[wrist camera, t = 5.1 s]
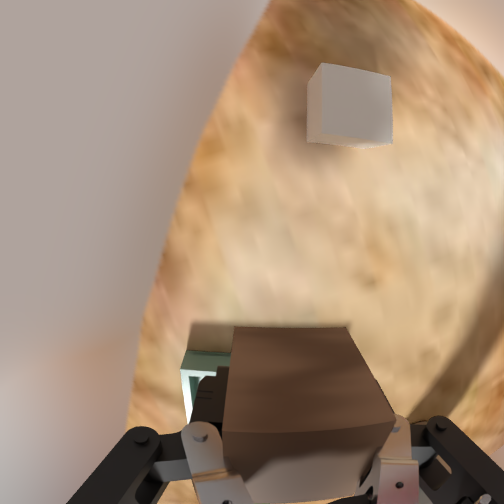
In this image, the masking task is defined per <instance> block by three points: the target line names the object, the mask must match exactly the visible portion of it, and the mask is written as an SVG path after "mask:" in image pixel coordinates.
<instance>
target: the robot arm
mask: <svg viewBox="0 0 504 504" xmlns="http://www.w3.org/2000/svg"><path fill="white" fill-rule="evenodd" d="M229 367H230V366H217V372H216V376H207V375H205V377H204V378H203V379H202V380H201V381H200V382H199V385H198V389H197V393H196V398H195V401H194V405H193V409H192V413H191V417H190V421H189V424H188V425H186V426H185V427H184V428H183V429H182V431H180V432H177V433H173V434H164V435H159V434H158V433H157V432H156V431H155V430H153V429H152V428H149V427H144V426H139V427H134V428H132V429H130V430H128V431H127V432H126V433H125V435H124V436H123V437H122V438H121V439H120V441H119V442H118V443H117V444H116V445H115V447H114V448H113V449H112V450H111V451H110V453H109V454H108V455H107V456H106V457H105V459H104V460H103V461H102V462H101V463H100V465H99V466H98V467H97V468H96V469H95V471H94V472H93V473H92V474H91V475H90V476H89V478H88V479H87V480H86V481H85V482H84V483H83V485H82V486H81V487H80V488H79V489H78V490H77V492H76V493H75V494H74V495H73V496H72V498H71V499H70V500H69V501H68V502H67V503H66V504H157V502H158V500H159V499H160V497H161V496H162V494H163V492H164V491H165V489H166V487H167V485H168V484H169V482H170V481H178V480H186V479H191V480H192V483H193V487H194V490H195V493H196V496H197V499H198V502H199V504H254V502H253V500H252V498H251V496H250V494H249V492H248V490H247V488H246V486H245V484H244V482H243V480H242V477H241V475H240V473H239V472H238V470H237V469H234V468H233V466H232V464H231V461H230V459H229V457H227V456H223V444H222V425H223V417H224V408H225V400H226V392H227V383H228V375H229ZM375 380H376V379H375ZM376 382H377V380H376ZM377 384H378V385H379V383H378V382H377ZM379 387H380V385H379ZM380 389H381V387H380ZM381 391H382V389H381ZM382 393H383V391H382ZM383 395H384V393H383ZM384 397H385V398H386V396H385V395H384ZM386 400H387V398H386ZM387 402H388V400H387ZM388 404H389V402H388ZM389 406H390V408H391V410H392V411H393V409H392V407H391V405H390V404H389ZM393 413H394V411H393ZM394 415H395V417H396V419H397V421H396V423H395V425H394V427H393V429H392V431H391V433H390V435H389V437H388V438H387V440H386V442H385V444H384V446H380V447H377V449H376V451H375V453H374V455H373V464H372V466H371V468H370V470H369V471H368V473H367V474H366V476H361V477H360V478H359V480H358V481H357V486H356V491H355V494H354V496H353V497H347V498H341V499H339V500H336V501H333V502H330V503H328V504H504V471H503V470H502V469H501V468H500V467H499V466H498V465H497V464H496V463H495V462H494V461H493V460H492V459H491V458H490V457H489V456H488V455H487V454H486V453H484V452H483V451H482V450H481V449H480V448H479V447H478V446H477V445H476V444H475V443H474V442H473V441H472V440H471V439H470V438H469V437H468V436H467V435H466V434H465V433H464V432H462V431H461V430H460V429H459V428H458V427H457V426H456V425H455V424H454V423H453V422H452V421H451V420H450V419H448V418H446V417H443V416H435V417H432V418H430V419H429V421H428V422H427V421H424V422H419V423H415V424H409V422H408V420H407V419H406V418H404V417H403V416H401V415H397V414H395V413H394Z"/></svg>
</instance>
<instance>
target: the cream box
mask: <svg viewBox="0 0 504 504" xmlns="http://www.w3.org/2000/svg"><path fill="white" fill-rule="evenodd" d="M306 142H312V143H322V144H331V145H340V146H348V147H355V148H362V149H367V148H373V147H378V146H384V145H389V144H393V118H392V90H391V76H387V75H383V74H379V73H375V72H371V71H366V70H362V69H357V68H352V67H347V66H341V65H335V64H329V63H323V62H322V63H321V64H320V66H319V67H318V68H317V70H316V71H315V73H314V74H313V76H312V77H311V79H310V80H309V82H308V83H307V135H306Z"/></svg>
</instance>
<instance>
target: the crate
mask: <svg viewBox="0 0 504 504" xmlns="http://www.w3.org/2000/svg"><path fill="white" fill-rule="evenodd" d="M230 359H231V353H219V352H203V351H189V350H186V353H185V356H184V359H183V362H182V365H181V368H180V372H181V380H182V388H183V395H184V402H185V408H186V415H187V421H188V424H189V421H190V417H191V413H192V409H193V405H194V401H195V398H196V393H197V389H198V385H199V382H200V381H201V380H202V379H203V378H204V377H205V375H207V376H216V372H217V366H230Z"/></svg>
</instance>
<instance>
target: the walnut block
mask: <svg viewBox="0 0 504 504" xmlns="http://www.w3.org/2000/svg"><path fill="white" fill-rule="evenodd" d="M396 421H397V419H396V417H395V415H394V413H393V411H392V410H391V408H390V406H389V404H388V402H387V400H386V398H385V397H384V395H383V393H382V391H381V389H380V387H379V385H378V384H377V382H376V380H375V378H374V376H373V375H372V373H371V371H370V369H369V367H368V366H367V364H366V362H365V360H364V359H363V357H362V355H361V353H360V351H359V350H358V348H357V346H356V344H355V343H354V341H353V339H352V338H351V336H350V334H349V332H348V331H347V329H346V328H262V327H235V326H234V334H233V343H232V351H231V359H230V367H229V375H228V383H227V392H226V400H225V408H224V417H223V425H222V444H223V456H227V457H229V459H230V461H231V464H232V466H233V468H234V469H237V470H238V472H239V473H240V475H241V477H242V480H243V482H244V484H245V486H246V488H247V490H248V492H249V494H250V496H251V498H252V500H253V502H254V504H276V503H296V502H308V501H318V500H326V499H333V498H340V497H346V496H352V495H353V494H354V493H355V491H356V486H357V481H358V480H359V478H360V477H361V476H366V474H367V473H368V471H369V470H370V468H371V466H372V464H373V455H374V453H375V451H376V449H377V447H380V446H384V444H385V442H386V440H387V438H388V437H389V435H390V433H391V431H392V429H393V427H394V425H395V423H396Z"/></svg>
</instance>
